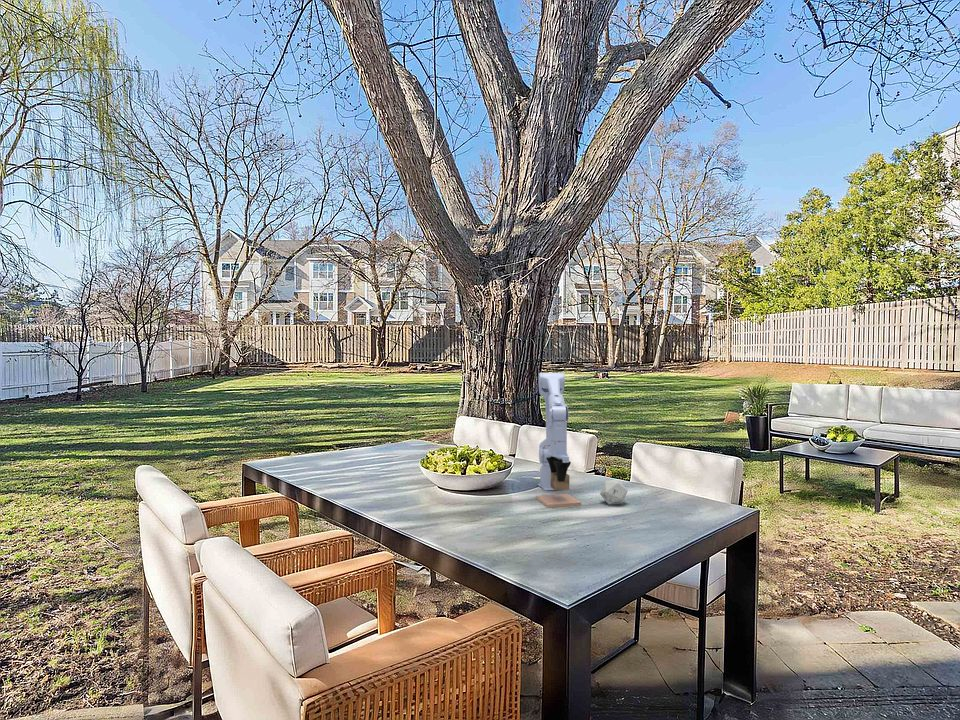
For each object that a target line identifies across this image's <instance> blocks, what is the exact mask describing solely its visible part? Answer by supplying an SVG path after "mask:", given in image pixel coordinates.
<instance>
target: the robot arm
mask: <svg viewBox="0 0 960 720" xmlns="http://www.w3.org/2000/svg"><path fill="white" fill-rule="evenodd" d="M565 386H566V375H565V373H564V372H539V373H538V392H539V395H540V396H542V397H543V399H544V403H545V404H544V406H545V407H544V408H545V435H546V437H545V439H544V440H542V441H541V442H540V443H539V449H538V461H539V463H540V464H541V466H540V469H539V470H540V471H539V483H537V485H538V487H540V488H542V489H543V490H544V491H555V490H554V489H553V488H551V487H550V485H551V473H555V472H557V479H558V481H559V482H563V481H565V477H566V473H567V472H568V469H569V467H570V466H571V463H572V462H571V461H570V456H568V452H567V451H568V449H567V448H568V447H567V445H568V444H567V443H568V441H567V440H568V438H567V436H568V430H567V429H568V424H567V423H568V422H569V417H570V416H569V408H568V405H567V404H566V401H565V398H564V395H563V394H564V392H565V390H564V389H565ZM567 474H568V473H567Z"/></svg>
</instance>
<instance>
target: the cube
mask: <svg viewBox="0 0 960 720" xmlns="http://www.w3.org/2000/svg"><path fill="white" fill-rule="evenodd" d="M550 487H551V488H553V489H554V490H553V491H567V490H568V491H569V490H570V474H568V473H566V477H565V481H563V482H559V481H558V479H557V472H555V473H551V485H550Z"/></svg>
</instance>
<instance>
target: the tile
mask: <svg viewBox="0 0 960 720" xmlns="http://www.w3.org/2000/svg"><path fill="white" fill-rule="evenodd" d="M535 499H536V500H538V502H540V503H541V504H543V505H544V506H545V507H546V508H548V509H549V508H563V507H577V506H582V502H581V501H580V500H578V499H577V498H576V497H574V496H572V495H570V494H569V493H560V494H559V493H556V494H555V493H554V494H543V495H542V494H541V495H535Z"/></svg>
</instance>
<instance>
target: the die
mask: <svg viewBox="0 0 960 720" xmlns="http://www.w3.org/2000/svg"><path fill="white" fill-rule="evenodd" d="M627 494H628V489H627V488H626V486H624V484H623V483H622V482H621V481H620V480H619V479H613V480H612V479H610V480H604V482H603V485H602V488H601V490H600V492H599V495H600V496H601V497H602V498H603V500H604V502H606V503H607V504H608V505H610V506H611V505H623V504H624V501H625V498H626V495H627Z"/></svg>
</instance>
